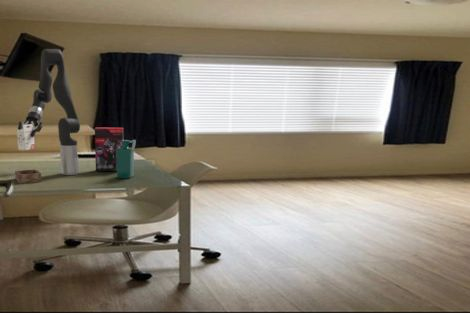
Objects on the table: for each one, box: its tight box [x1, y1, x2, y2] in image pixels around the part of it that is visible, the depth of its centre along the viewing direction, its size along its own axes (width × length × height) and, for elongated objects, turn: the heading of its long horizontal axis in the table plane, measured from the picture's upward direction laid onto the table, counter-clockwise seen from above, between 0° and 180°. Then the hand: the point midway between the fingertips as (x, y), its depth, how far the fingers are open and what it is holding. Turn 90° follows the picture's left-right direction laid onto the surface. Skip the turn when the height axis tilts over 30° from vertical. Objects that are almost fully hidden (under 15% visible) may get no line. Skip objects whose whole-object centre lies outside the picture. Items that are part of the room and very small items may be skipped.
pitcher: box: [116, 139, 137, 179], centre depth 240 cm, size 10×8×22 cm
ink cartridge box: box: [16, 124, 36, 151], centre depth 243 cm, size 9×5×15 cm, turn 168°
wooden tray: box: [14, 168, 42, 184], centre depth 224 cm, size 10×14×4 cm
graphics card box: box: [94, 126, 125, 172], centre depth 259 cm, size 17×7×27 cm, turn 101°
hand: (26, 136), depth 243 cm, fingers closed on ink cartridge box, 5 cm apart
